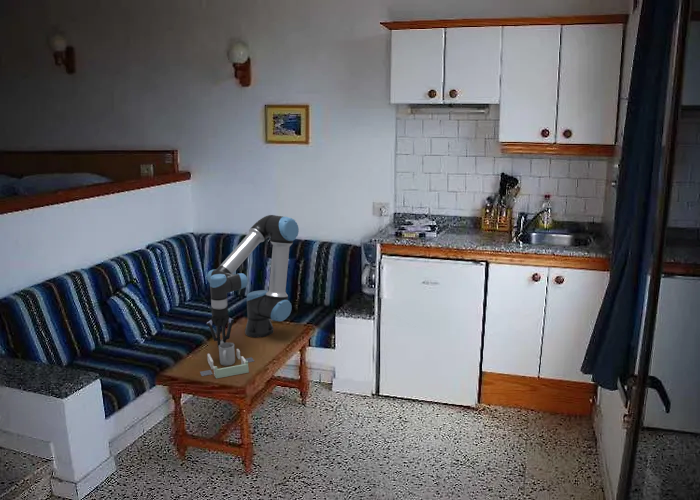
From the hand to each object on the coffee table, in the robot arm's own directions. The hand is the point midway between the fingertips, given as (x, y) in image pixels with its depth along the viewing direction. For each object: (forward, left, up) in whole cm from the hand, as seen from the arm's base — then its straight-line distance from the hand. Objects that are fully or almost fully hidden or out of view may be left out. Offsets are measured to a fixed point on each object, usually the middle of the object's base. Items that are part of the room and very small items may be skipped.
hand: (222, 353), depth 285 cm
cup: (-1, +6, -3) cm, 7 cm away
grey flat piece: (0, +9, -3) cm, 10 cm away
